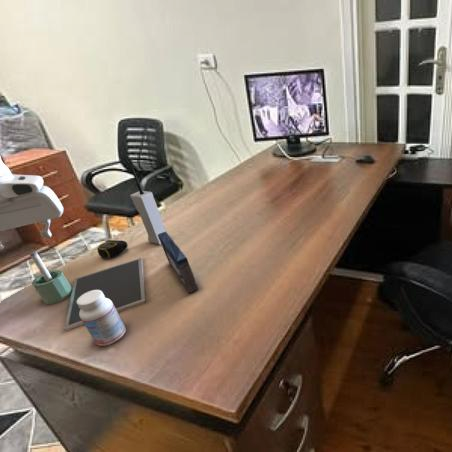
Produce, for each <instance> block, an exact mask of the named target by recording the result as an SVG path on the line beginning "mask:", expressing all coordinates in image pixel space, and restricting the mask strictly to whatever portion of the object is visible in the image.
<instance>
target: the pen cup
mask: <svg viewBox="0 0 452 452" xmlns="http://www.w3.org/2000/svg"><path fill="white" fill-rule="evenodd" d="M48 272H49V273H50V275H51V277H52V278H53V279H52V280H51V281H48V282H46V280H45V278H44V277H43V275H42V274H40V275H37V276H36V277H35V278H34V279H33V280H32V281H31V285H32V287H33V289H34V290H35V291H36V293H37V294H38V296H39V297H40V299H41V301H43V303H44V304H46V305H52V304H57V303H59V302H62V301H64V300H66V299H67V298H68V297H70V296H71V294H72V289H73V286H71V284H70V282H69V281H68V279H67V277H66V276H65V274H64V272H63V271H62V270H61V269H54V270H48Z"/></svg>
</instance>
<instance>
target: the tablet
mask: <svg viewBox="0 0 452 452" xmlns="http://www.w3.org/2000/svg"><path fill="white" fill-rule="evenodd" d="M92 290H100V291H102V293H103V294H104V296H105V298H108V299H110V300H111V301H112V303H113V305H114V306H115V308H116V310H117V312H118V313H120V312H123V311H126V310H129V309H131V308H134V307H137V306H140V305H142V304H143V305H144V304H146V303H147V295H146V284H145V275H144V265H143V258H142V257H140V258H136V259H133V260H130V261H126V262H124V263H121V264H120V263H119V264H117V265H115V266H111V267H108V268H105V269H102V270H98V271H95V272H92V273H89V274H86V275H82V276H79V277H76V278H74V281H73V285H72V293H71V294H70V299H69V304H68V308H67V313H66V318H65V323H64V328H63V329H64V330H65V332H68V331H70V330H73V329H76V328H78V327H81V326H83V325H84V323H83V322H82V320H81V318H80V316H79V312H80V310H81V309H80V308H79V306H78V304H77V299H78V298H79V297H80V296H81V295H83V294H85V293H87V292H89V291H92ZM84 326H85V325H84Z"/></svg>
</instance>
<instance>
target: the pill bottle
mask: <svg viewBox="0 0 452 452" xmlns="http://www.w3.org/2000/svg"><path fill="white" fill-rule="evenodd" d="M77 304H78V306H79V308H80V309H81V310H80V312H79V316H80V318H81V320H82V322H83V323H84V327H85V328H86V330H87V332H88V333H89V335H90V337H91V338H92V340H93V342H94V343H95V344H96V346H99V347H105V346H110V345H112V344H114V343H116V342H117V341H119V340H120V339H121V338H122V337H123V336H124V335H125V333H126V330H127V329H126V325H125V324H124V322H123V320H122V318H121V316H120V314H119V312H117V310H116V308H115V306H114V305H113V303H112V301H111V300H110V299H108V298H105V296H104V294H103V293H102V291H100V290H92V291H89V292H87V293H85V294H83V295H81V296H80V297H79V298H78V299H77Z"/></svg>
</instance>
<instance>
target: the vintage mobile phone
mask: <svg viewBox="0 0 452 452" xmlns="http://www.w3.org/2000/svg"><path fill="white" fill-rule="evenodd" d="M130 170H131V172H132V175H133V178H134V180H135V183H136V186H137V188H138V191H136V192H134V193H132V194H130V199H131V201H132V202H133V203H132V204H134V207H135V209H136V211H137V212H138V214H139V216H140V219H141V221H142V224H143V226H144V228H145V231H146V233H147V240H148V242H149V243H150V244H155V245H160V246H162V245H161V242H160V240H159V237H158V234H160V233H163V232H167V229H166V226H165V224H164V221H163V218H162V216H161V214H160V211H159V208H158V205H157V202H156V200H155V197H154V194H153V192H151V191H146V190H143V188H142V186H141V183H140V180H139V179H138V177H137V174H136V172H135V169H134V167H130Z"/></svg>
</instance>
